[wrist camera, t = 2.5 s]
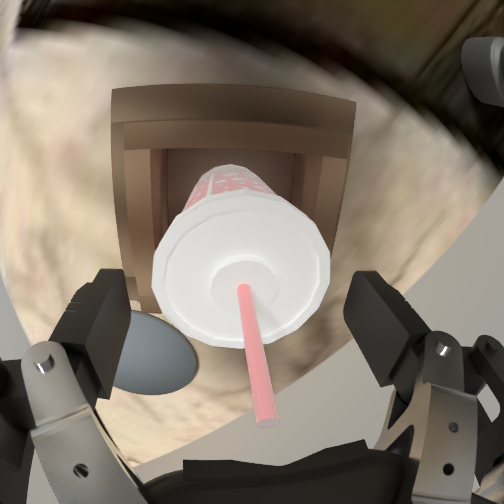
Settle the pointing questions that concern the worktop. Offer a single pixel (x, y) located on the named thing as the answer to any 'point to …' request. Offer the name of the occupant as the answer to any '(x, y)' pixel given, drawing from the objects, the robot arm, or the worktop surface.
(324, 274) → the beverage cup
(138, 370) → the slate coaster
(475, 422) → the robot arm
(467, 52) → the candle holder
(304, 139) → the stepped square tray
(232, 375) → the worktop surface
